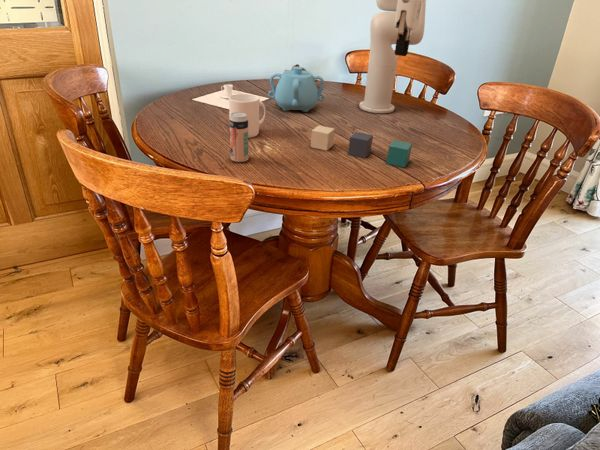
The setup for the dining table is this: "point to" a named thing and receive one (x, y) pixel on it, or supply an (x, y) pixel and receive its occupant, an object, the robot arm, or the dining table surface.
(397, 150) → the teal block
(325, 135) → the cream block
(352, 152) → the slate block
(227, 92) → the teacup and saucer
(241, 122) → the supplement bottle
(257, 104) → the mug
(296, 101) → the decorative pot
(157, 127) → the dining table surface
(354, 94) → the dining table surface
